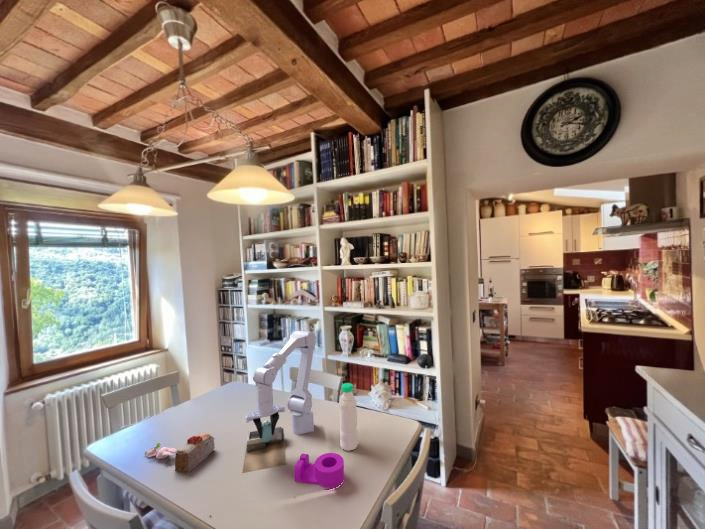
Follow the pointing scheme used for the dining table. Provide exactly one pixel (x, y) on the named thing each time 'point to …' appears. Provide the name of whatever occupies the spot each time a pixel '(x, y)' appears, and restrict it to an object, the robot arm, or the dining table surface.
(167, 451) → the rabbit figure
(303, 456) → the tape dispenser
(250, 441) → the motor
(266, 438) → the blue bottle white cap
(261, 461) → the mounting board
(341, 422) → the water bottle
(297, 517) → the dining table surface
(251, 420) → the robot arm
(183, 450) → the food item
